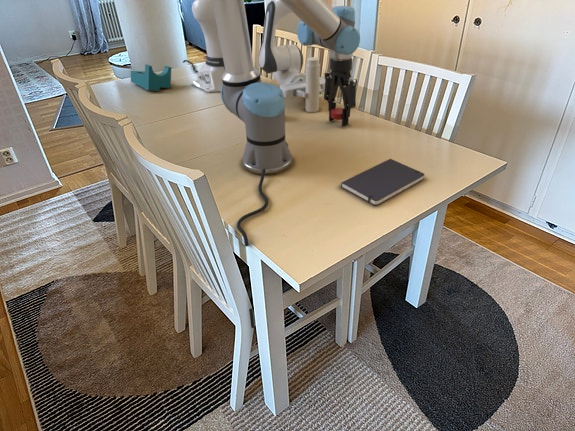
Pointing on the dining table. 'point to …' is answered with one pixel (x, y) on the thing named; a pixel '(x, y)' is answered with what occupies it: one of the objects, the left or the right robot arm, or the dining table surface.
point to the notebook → (382, 181)
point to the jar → (312, 84)
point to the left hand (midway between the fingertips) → (313, 93)
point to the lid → (336, 113)
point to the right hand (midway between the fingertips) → (338, 122)
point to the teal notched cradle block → (152, 78)
